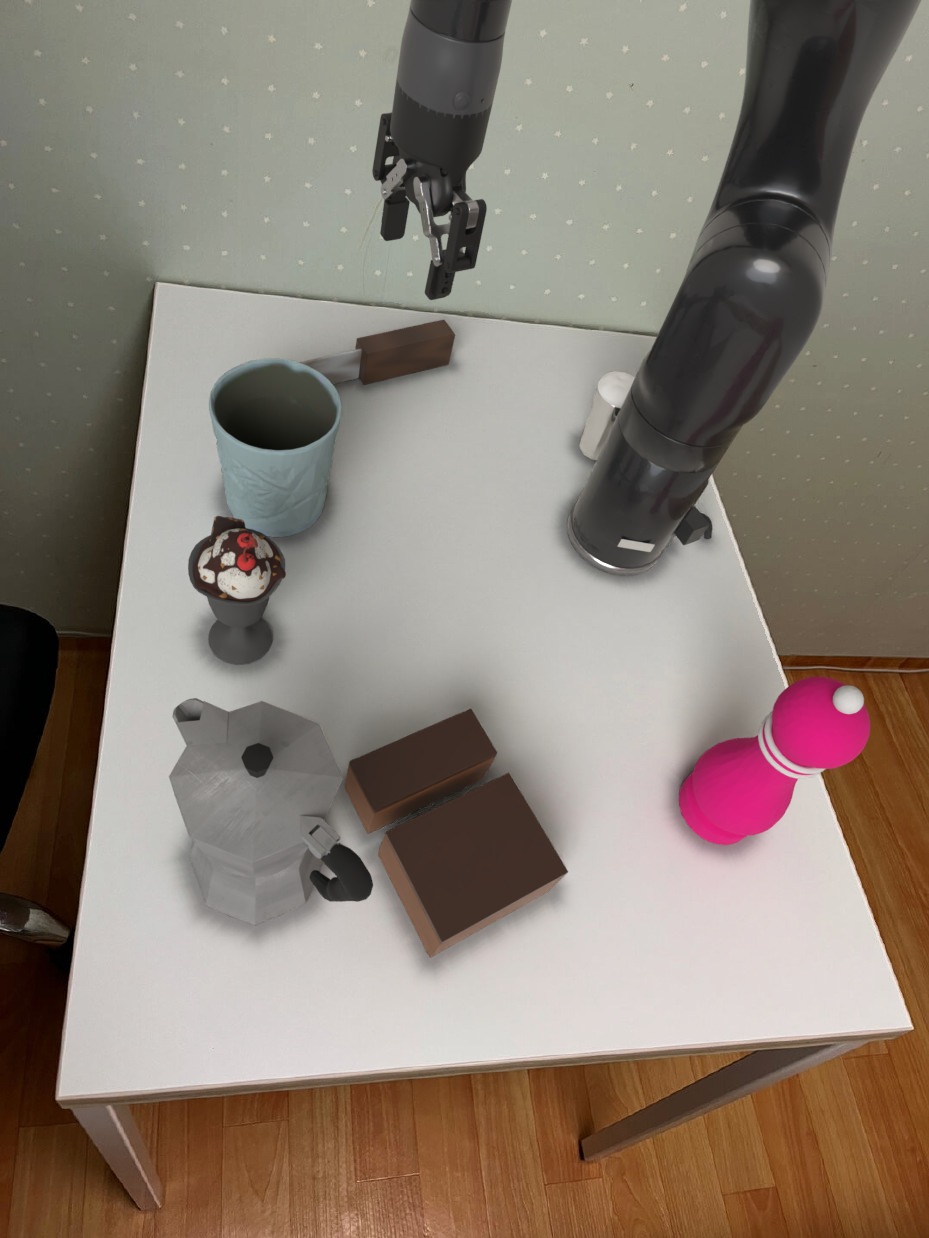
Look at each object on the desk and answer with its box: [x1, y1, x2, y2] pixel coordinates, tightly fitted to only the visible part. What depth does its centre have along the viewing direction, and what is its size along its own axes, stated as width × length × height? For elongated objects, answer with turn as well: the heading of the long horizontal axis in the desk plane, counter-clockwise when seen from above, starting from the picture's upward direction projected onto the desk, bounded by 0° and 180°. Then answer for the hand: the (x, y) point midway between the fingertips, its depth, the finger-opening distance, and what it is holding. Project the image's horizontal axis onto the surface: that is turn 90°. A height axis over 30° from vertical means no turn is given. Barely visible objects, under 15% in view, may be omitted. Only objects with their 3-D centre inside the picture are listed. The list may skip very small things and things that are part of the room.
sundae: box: [187, 515, 287, 666], centre depth 63 cm, size 7×7×15 cm
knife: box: [297, 319, 456, 386], centre depth 86 cm, size 21×2×4 cm, turn 120°
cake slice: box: [343, 708, 499, 835], centre depth 63 cm, size 10×4×5 cm, turn 120°
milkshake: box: [578, 371, 635, 461], centre depth 84 cm, size 4×5×10 cm
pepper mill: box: [678, 676, 871, 846], centre depth 61 cm, size 7×7×20 cm
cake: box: [377, 772, 569, 959], centre depth 61 cm, size 10×8×5 cm
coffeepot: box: [168, 697, 374, 926], centre depth 53 cm, size 15×9×18 cm, turn 49°
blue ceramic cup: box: [208, 357, 343, 538], centre depth 72 cm, size 10×10×12 cm
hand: (413, 266), depth 79 cm, fingers open, 8 cm apart
